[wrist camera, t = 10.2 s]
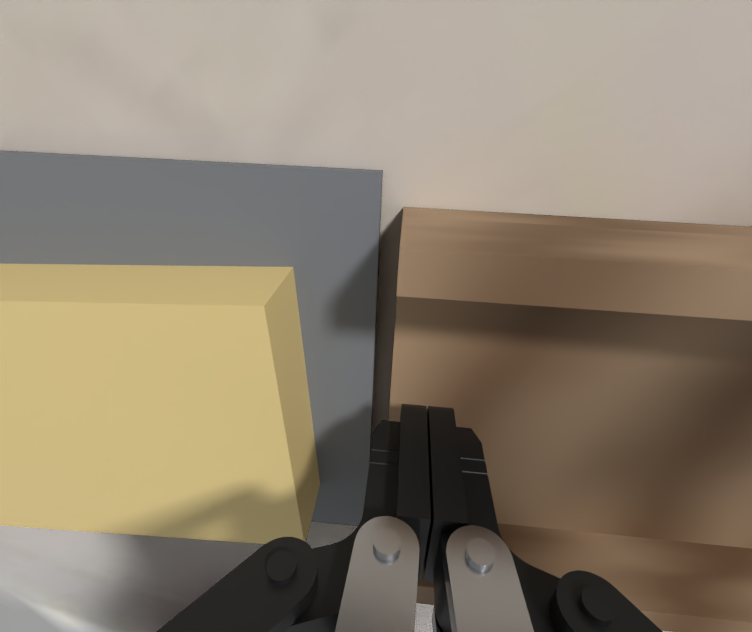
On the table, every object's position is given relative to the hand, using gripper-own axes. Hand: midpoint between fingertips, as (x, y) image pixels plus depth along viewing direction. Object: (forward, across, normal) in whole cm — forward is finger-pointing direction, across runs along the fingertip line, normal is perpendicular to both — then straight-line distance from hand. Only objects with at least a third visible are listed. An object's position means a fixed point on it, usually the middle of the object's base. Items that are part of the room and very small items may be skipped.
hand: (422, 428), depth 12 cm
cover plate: (+2, +10, +1) cm, 10 cm away
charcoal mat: (+2, +9, 0) cm, 9 cm away
